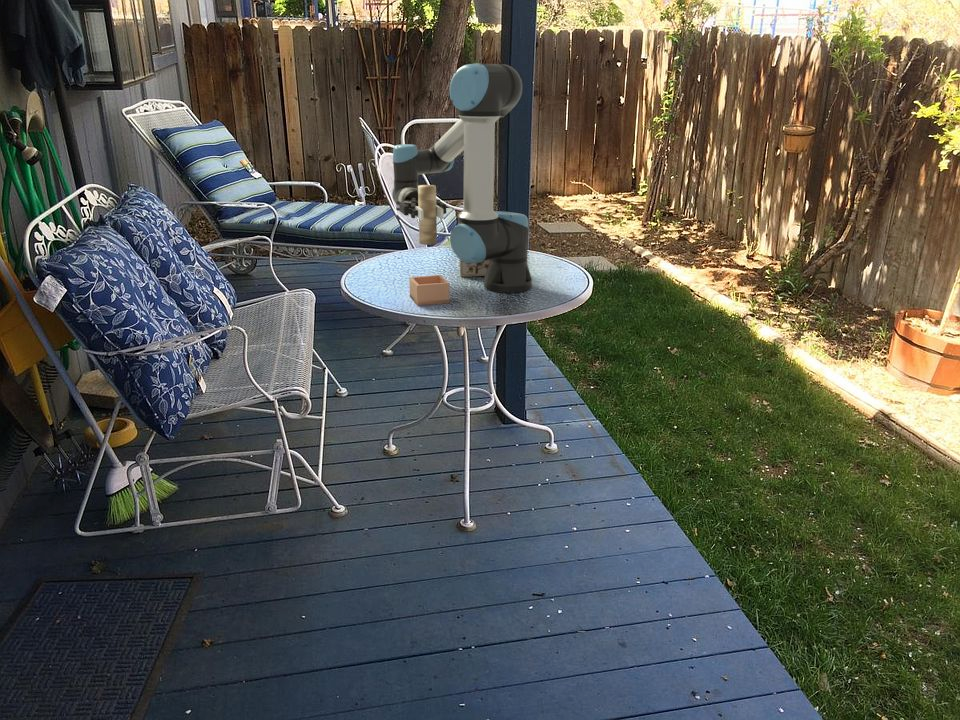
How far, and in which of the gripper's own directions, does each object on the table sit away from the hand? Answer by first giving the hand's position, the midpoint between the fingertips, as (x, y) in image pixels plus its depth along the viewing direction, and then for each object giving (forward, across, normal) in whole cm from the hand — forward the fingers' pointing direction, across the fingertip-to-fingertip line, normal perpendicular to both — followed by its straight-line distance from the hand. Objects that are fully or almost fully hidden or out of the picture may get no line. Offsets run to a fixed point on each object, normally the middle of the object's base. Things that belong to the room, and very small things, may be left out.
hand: (432, 214), depth 206 cm
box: (-5, 0, -26) cm, 26 cm away
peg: (-5, 0, -9) cm, 10 cm away
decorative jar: (-31, -23, -26) cm, 47 cm away
